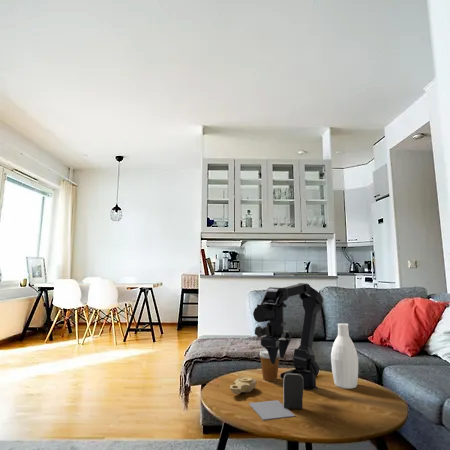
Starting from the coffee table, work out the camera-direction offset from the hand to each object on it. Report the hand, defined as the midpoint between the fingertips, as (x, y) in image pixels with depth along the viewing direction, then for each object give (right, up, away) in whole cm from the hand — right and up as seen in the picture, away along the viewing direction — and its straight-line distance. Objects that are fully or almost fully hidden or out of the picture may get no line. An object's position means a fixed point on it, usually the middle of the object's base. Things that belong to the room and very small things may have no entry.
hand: (277, 360), depth 130 cm
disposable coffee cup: (0, -17, +21) cm, 27 cm away
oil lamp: (-13, -15, +4) cm, 20 cm away
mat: (-4, -12, -13) cm, 18 cm away
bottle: (+31, -16, +13) cm, 37 cm away
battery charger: (+3, -12, -11) cm, 17 cm away
